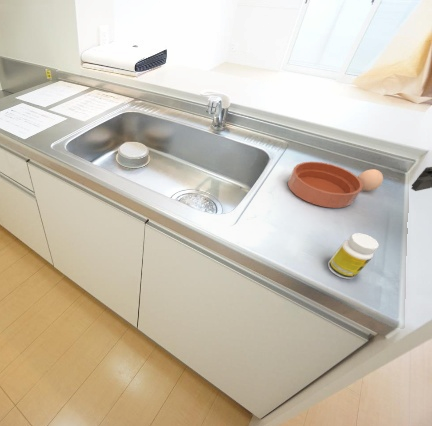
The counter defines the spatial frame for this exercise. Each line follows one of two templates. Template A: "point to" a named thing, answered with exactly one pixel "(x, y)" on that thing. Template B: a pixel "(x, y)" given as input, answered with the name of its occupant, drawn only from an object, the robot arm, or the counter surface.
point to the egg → (371, 179)
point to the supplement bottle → (353, 255)
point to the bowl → (324, 184)
